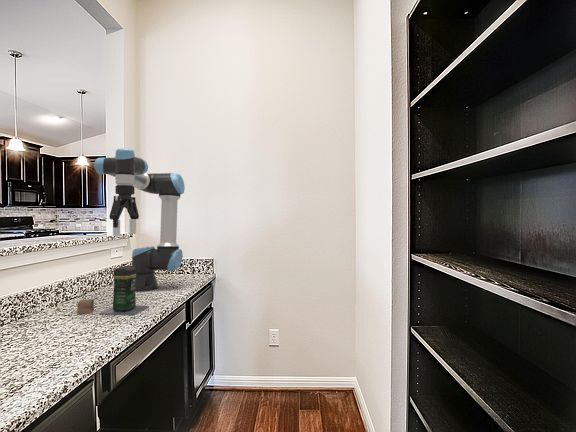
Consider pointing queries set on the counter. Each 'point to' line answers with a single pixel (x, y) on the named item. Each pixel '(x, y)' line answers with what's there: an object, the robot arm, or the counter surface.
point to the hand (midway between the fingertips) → (125, 234)
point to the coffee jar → (124, 288)
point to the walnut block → (85, 306)
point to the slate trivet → (130, 312)
